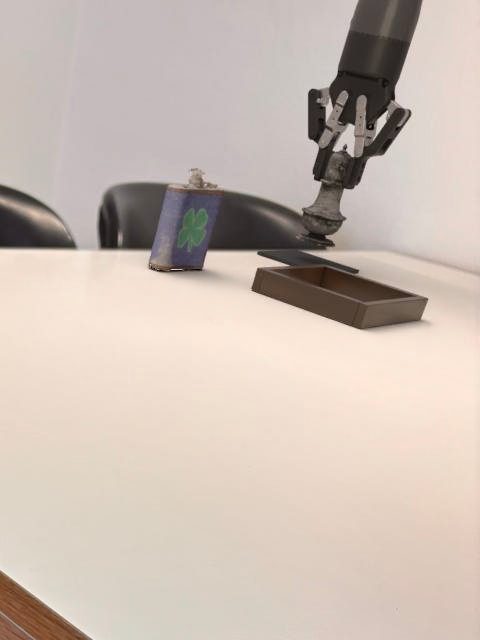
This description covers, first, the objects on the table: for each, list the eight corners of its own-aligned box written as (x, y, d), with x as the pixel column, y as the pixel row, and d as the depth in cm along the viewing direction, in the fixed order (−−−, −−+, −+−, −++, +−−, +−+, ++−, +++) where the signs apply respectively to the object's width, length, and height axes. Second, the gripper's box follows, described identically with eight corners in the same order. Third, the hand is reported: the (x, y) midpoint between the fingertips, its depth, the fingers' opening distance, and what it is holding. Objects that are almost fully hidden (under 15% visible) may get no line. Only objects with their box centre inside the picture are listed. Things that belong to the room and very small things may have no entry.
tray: (316, 284, 131) (323, 263, 129) (420, 320, 123) (429, 298, 122) (250, 290, 120) (257, 267, 119) (359, 329, 113) (368, 305, 112)
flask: (159, 272, 120) (184, 170, 114) (139, 265, 122) (163, 164, 116) (208, 270, 126) (234, 173, 120) (188, 263, 128) (213, 167, 122)
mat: (295, 252, 149) (296, 249, 148) (358, 273, 143) (359, 269, 143) (256, 254, 142) (257, 250, 142) (321, 275, 136) (322, 272, 136)
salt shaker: (293, 240, 139) (323, 140, 133) (293, 233, 144) (322, 137, 138) (338, 250, 138) (370, 150, 132) (336, 243, 143) (367, 146, 137)
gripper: (448, 47, 127) (395, 199, 136) (344, 27, 135) (301, 172, 144) (420, 39, 122) (368, 198, 131) (314, 20, 130) (271, 171, 139)
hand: (333, 184), depth 137 cm, fingers closed on salt shaker, 3 cm apart
